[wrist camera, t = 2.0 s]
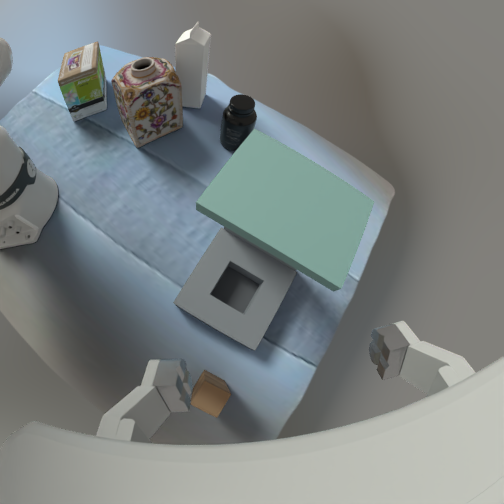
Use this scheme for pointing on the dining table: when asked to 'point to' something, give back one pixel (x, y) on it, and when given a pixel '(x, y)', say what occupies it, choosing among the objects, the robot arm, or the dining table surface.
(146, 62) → the decorative jar
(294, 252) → the socket stand
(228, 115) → the supplement bottle
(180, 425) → the dining table surface
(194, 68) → the milk
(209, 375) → the walnut peg
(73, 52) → the tea box
